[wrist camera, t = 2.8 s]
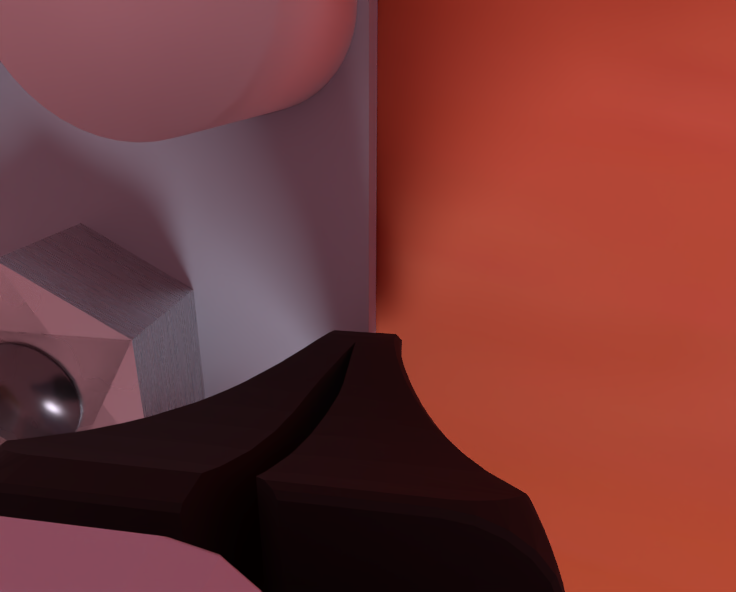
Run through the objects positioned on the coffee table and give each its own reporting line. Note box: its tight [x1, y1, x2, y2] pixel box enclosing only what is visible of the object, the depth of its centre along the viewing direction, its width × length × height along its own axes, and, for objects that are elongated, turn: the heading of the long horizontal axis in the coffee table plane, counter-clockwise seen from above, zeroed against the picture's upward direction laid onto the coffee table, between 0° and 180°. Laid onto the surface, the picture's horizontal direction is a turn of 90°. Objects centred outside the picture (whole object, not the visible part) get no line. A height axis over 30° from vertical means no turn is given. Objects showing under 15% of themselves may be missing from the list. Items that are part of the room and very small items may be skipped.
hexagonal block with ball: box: [0, 223, 205, 445], centre depth 12 cm, size 5×5×3 cm
